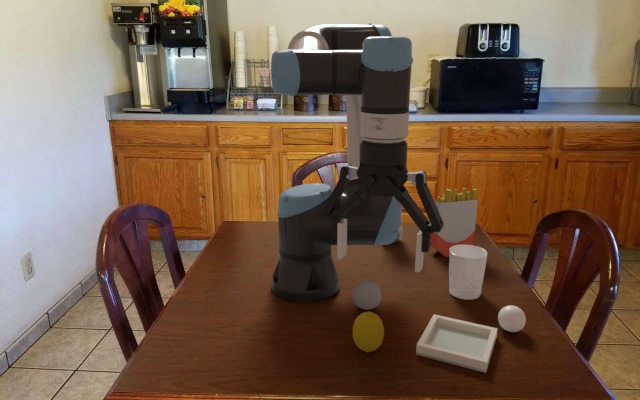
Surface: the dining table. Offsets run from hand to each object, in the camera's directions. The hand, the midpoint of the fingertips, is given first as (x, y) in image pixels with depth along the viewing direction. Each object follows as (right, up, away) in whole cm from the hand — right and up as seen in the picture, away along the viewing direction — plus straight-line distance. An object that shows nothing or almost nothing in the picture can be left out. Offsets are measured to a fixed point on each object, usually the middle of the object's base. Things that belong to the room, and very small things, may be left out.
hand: (379, 262), depth 87 cm
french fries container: (+25, -3, +49) cm, 54 cm away
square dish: (+15, -16, +6) cm, 23 cm away
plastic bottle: (+10, -1, +57) cm, 57 cm away
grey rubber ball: (0, -12, +20) cm, 23 cm away
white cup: (+22, -10, +26) cm, 36 cm away
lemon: (-2, -17, +4) cm, 17 cm away
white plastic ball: (+27, -14, +11) cm, 32 cm away
